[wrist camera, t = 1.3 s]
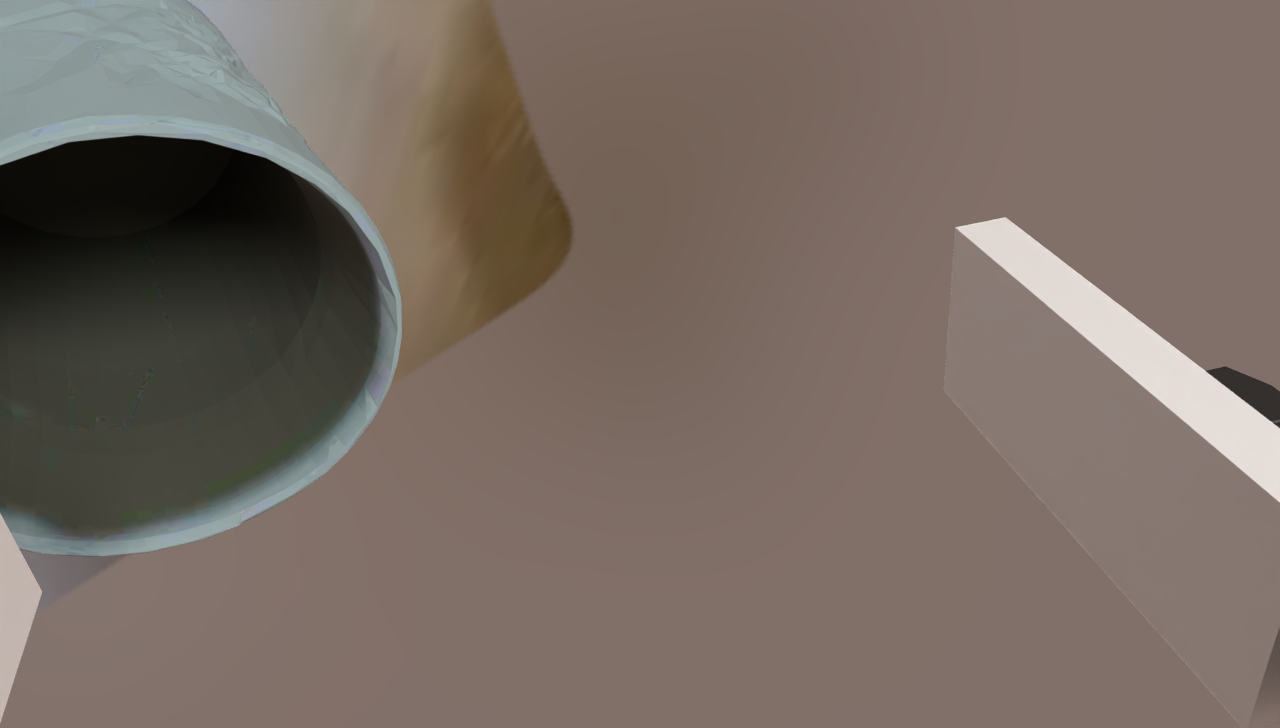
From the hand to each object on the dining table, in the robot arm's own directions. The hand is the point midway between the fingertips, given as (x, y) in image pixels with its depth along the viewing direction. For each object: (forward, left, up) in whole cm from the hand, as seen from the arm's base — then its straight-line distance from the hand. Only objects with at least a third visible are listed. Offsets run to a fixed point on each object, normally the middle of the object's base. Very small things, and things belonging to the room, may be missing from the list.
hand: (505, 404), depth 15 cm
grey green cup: (-1, -6, -20) cm, 21 cm away
